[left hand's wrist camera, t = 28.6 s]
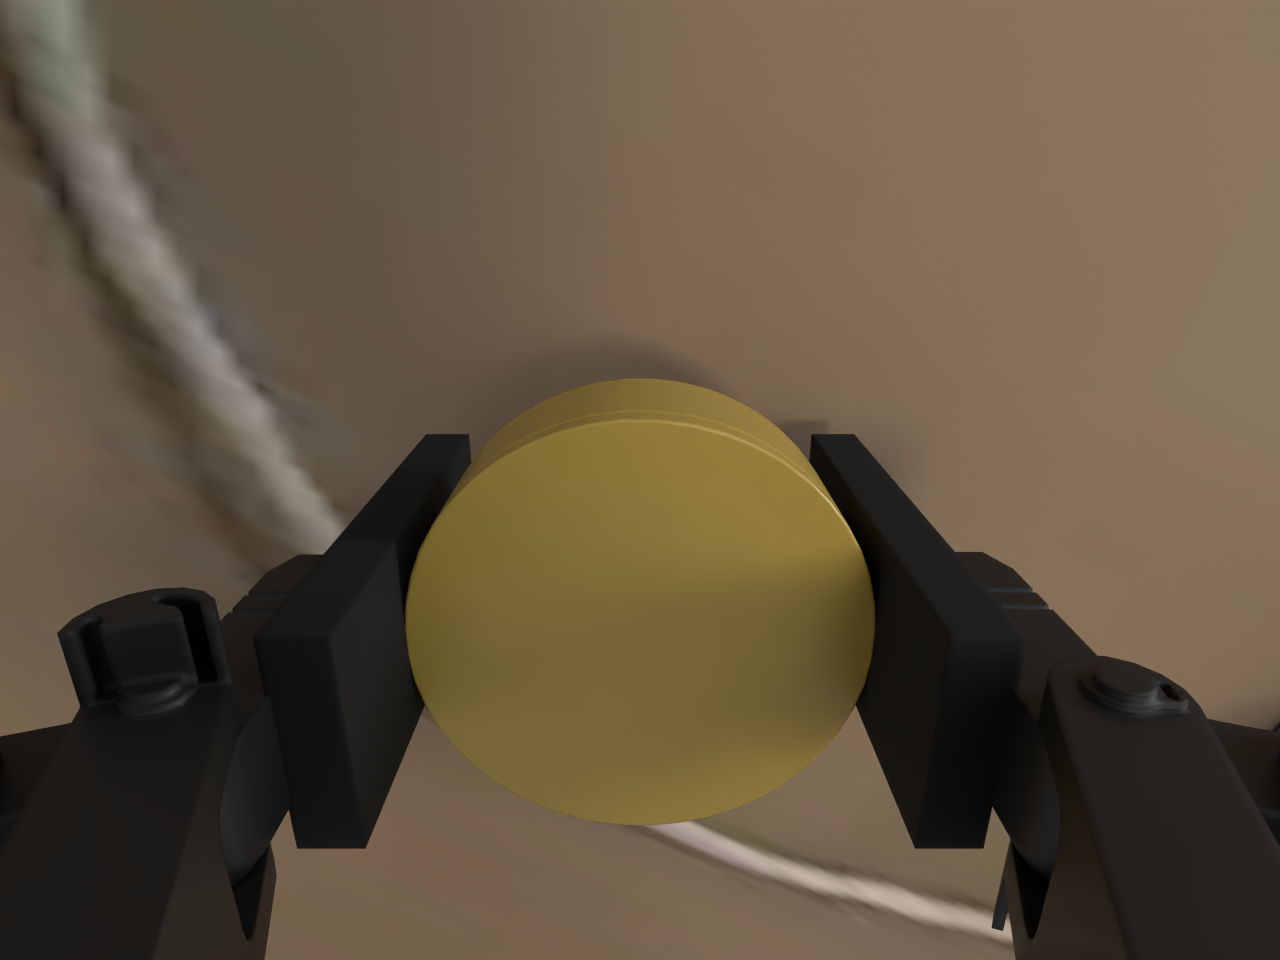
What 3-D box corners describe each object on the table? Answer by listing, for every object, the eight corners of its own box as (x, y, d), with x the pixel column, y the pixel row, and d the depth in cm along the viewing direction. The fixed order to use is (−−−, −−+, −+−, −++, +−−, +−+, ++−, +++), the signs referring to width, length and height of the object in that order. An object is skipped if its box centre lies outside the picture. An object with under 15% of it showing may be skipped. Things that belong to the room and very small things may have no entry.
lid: (539, 301, 10) (515, 327, 8) (916, 487, 11) (972, 549, 9) (386, 646, 12) (339, 732, 10) (719, 779, 13) (732, 880, 11)
